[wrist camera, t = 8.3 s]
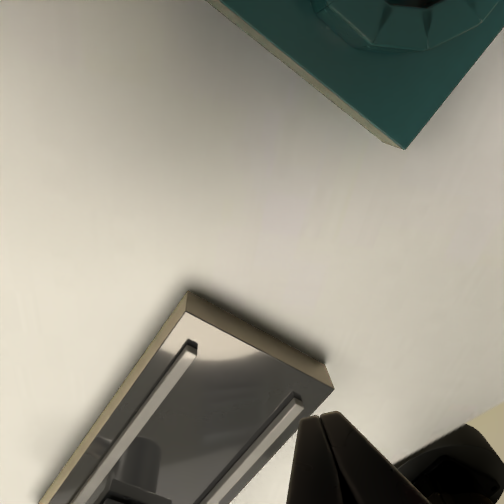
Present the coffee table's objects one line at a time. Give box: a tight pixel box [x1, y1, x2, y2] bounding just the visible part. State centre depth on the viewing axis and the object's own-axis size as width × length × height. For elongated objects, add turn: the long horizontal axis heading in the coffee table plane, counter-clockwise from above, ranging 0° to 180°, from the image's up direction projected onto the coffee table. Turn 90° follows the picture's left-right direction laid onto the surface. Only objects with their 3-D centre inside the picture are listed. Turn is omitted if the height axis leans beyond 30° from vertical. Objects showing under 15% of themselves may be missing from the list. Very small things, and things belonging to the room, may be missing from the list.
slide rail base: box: [38, 291, 334, 504], centre depth 23 cm, size 9×18×2 cm, turn 145°
